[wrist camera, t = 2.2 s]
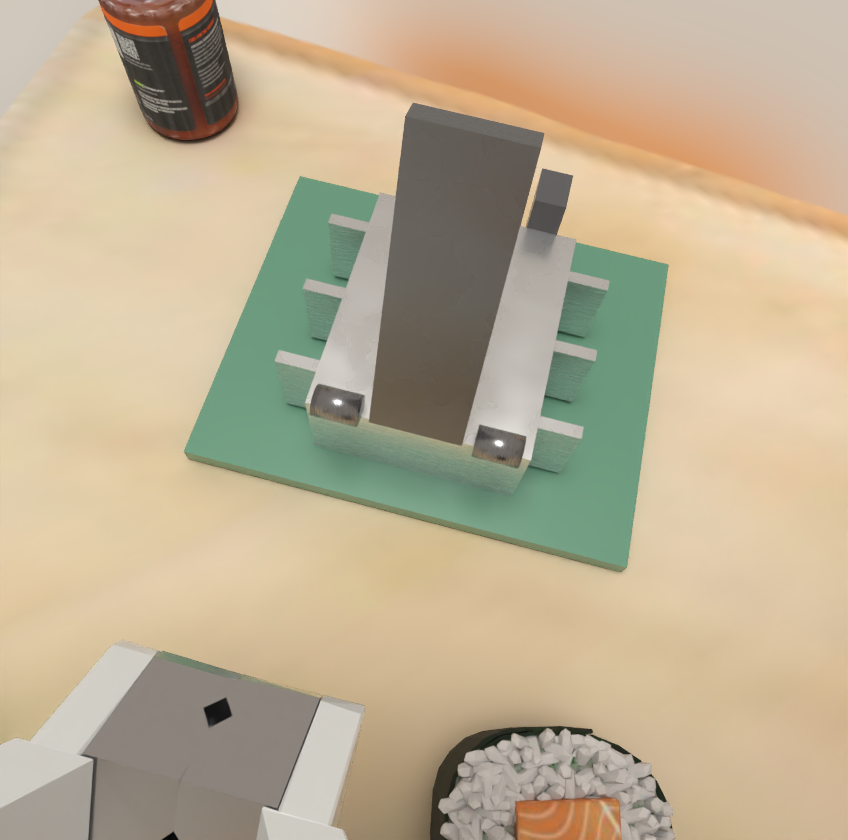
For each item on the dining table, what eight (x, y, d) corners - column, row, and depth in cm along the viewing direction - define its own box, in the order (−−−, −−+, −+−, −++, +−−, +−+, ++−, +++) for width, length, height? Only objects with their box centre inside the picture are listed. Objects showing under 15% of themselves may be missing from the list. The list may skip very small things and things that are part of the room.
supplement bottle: (245, 77, 47) (207, -110, 37) (234, 148, 45) (189, -31, 34) (151, 72, 47) (86, -118, 36) (135, 142, 44) (60, -40, 34)
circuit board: (662, 274, 42) (668, 264, 42) (620, 571, 35) (626, 567, 34) (301, 188, 44) (299, 176, 43) (188, 458, 36) (183, 451, 35)
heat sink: (589, 305, 40) (624, 232, 34) (548, 520, 35) (582, 477, 29) (345, 245, 41) (340, 164, 35) (271, 448, 36) (249, 392, 30)
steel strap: (544, 133, 21) (541, 147, 21) (465, 429, 31) (461, 446, 30) (412, 103, 22) (405, 116, 21) (375, 405, 31) (368, 422, 30)
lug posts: (542, 263, 41) (572, 175, 35) (536, 292, 40) (566, 207, 34) (406, 230, 41) (411, 137, 35) (397, 258, 41) (400, 168, 34)
